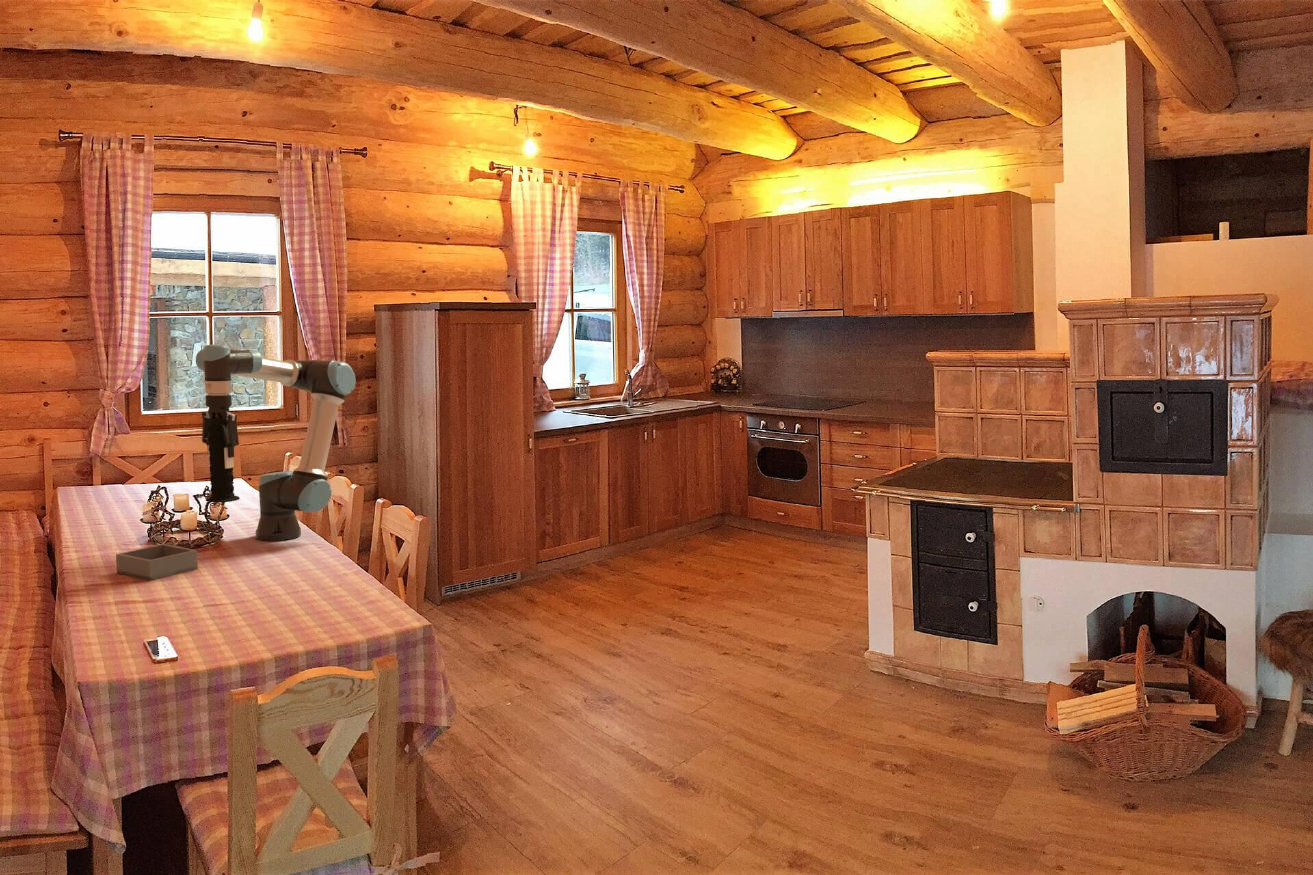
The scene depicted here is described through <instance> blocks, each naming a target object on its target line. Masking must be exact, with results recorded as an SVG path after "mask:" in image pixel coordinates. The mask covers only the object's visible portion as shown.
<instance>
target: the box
mask: <svg viewBox="0 0 1313 875" xmlns="http://www.w3.org/2000/svg"><path fill="white" fill-rule="evenodd" d="M115 559H116V560H115V564H116V574H118V575H124V576H128V577H130V578H131V577H133V578H137V579H141V580H145V581H150V582H151V581H156V580H159V579H164V578H167V577H172V576H175V575H180V574H183V573H187V572H190V571H191V572H192V571H196V570H198V569H199V568H198V565H199V564H198V550H197V549H192V548H187V547H183V546H176V545H171V544H166V543H161V544H157V545H153V546H152V545H151V546H148V547H143V548H139V549H138V548H137V549H134V550H130V551H126V552H125V551H124V552H119V553H115Z"/></svg>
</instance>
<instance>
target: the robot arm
mask: <svg viewBox="0 0 1313 875" xmlns="http://www.w3.org/2000/svg"><path fill="white" fill-rule="evenodd" d="M195 365H196V367H197V368H198V369H199V370H200V371H203V372H204V375H203V376H204V390H205V394H206V395H205V397H204V398H205V406H206V407H207V408H208V410H207V411H202V412H201V419H202V426H201V430H202V431H201V432H202V433H201V442H202V444H206V446H207V456H208V458H209V457H210V455H209V453H210V452H209V440H208V437H209V434H208V433H209V431H208V425H209V423H208V421H207V420H209V419H213V418H216V419H218V420H227V424H228V425H227V428H226V426H225V425H223V424H221V426H222V427H223V434H224V435H223V437H224V441H225V444H226V446H225V447H224V456H225V468H233V469H234V468H235V462H234V461H235V460H234V458H235V447H237V446H239V445H240V441H239V433H238V422H237V420H238V414H237V413H231V410H230V408H231V407H232V405H233V403H232V401H233V400H232V395H231V393H232V379H231V378H232V377H231V376H239V377H244V378H250V379H255V380H256V379H258V380H264V381H269V382H276V383H280V384H281V385H282V386H284V387H289V388H293V389H294V388H295V389H297V390H300V391H305V392H308V393H309V392H310V396H311V398H312V399H313V403H312V407H311V412H310V417H309V420H308V426H307V430H306V434H305V439H304V443H303V447H302V453H301V456H300V461H299V465H298V467H296V468H295V469H293V471H292V470H287V471H286V470H285V471H277V472H271V473H265V474H261V475H260V476H259V479H258V480H259V481H258V493H259V494H258V496H259V499H258V500H259V510H260V511H259V515H260V516H259V519H258V522H257V523H258V524H257V527H256V530H255V539H256V540H259V541H267V542H277V541H280V542H281V541H286V540H285V539H289V540H293V539H292V538H294V539H296V538H295V537H297V538H300V537H301V536H302V529H301V526H300V524H299V521H298V518H297V515H296V511H298V512H303V513H318V512H321V511H322V510H324V509H325V508H326V507H327V506H328V504H329V502H330V500H331V498H332V488H331V485H330V483H329V481H328V474H327V473H326V471H325V470H326V465H327V460H328V457H329V452H330V447H331V443H332V439H333V433H334V429H335V424H336V420H337V414H338V412H339V411H338V410H339V406H340V405H341V404H343V403H344V402H345V401H346V396H347V395H350V394H351V393H352V392H353V391H354V390H355V387H356V374H355V372H354V371H353V368H352V367H351V365H349V364H348V363H347V362H344V361H338V360H318V359H310V360H309V359H305V360H299V359H298V360H297V359H295V360H294V359H290V358H289V359H285V360H278V359H272V358H267V357H263V356H262V354H261V353H260V352H259V351H258V350H255V349H230V346H229V345H228V344H206V345H205V346H204V347H203V349H200V350H199V351H198V352H197V353H196V355H195ZM229 442H230V443H229ZM209 463H210V461H209V460H208V467H210V464H209ZM300 535H301V536H300Z"/></svg>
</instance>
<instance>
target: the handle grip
mask: <svg viewBox="0 0 1313 875" xmlns="http://www.w3.org/2000/svg"><path fill="white" fill-rule="evenodd" d="M207 421H208V423H209V425H208V431H209V433H208V434H209V437H208V440H209V452H210V453H209V455H210V457H209V456H208V465H209V464H210V466H209V472H210V473H209V475H210V478H209V481H210V486H211V487H210V493H211V494H210V496H209V497H206V499H205V502H207V503H214V504H215V503H218V504H219V503H230V502H235V501H236V502H237V501H239V500H240V499H241V497H240V496H238V495H235V492H234V491H235V487H234V479H235V478H234V471H233V470H234V467H233V468H225V456H224V447H225V446H226V444H225V441H224V437H223V435H224V434H223V427H222V426H221V424H223V425H225V426H226V428H227V425H228V424H227V420H218V419H216V418H213V419H209V420H207ZM229 443H230V442H229ZM209 461H210V463H209Z"/></svg>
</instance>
